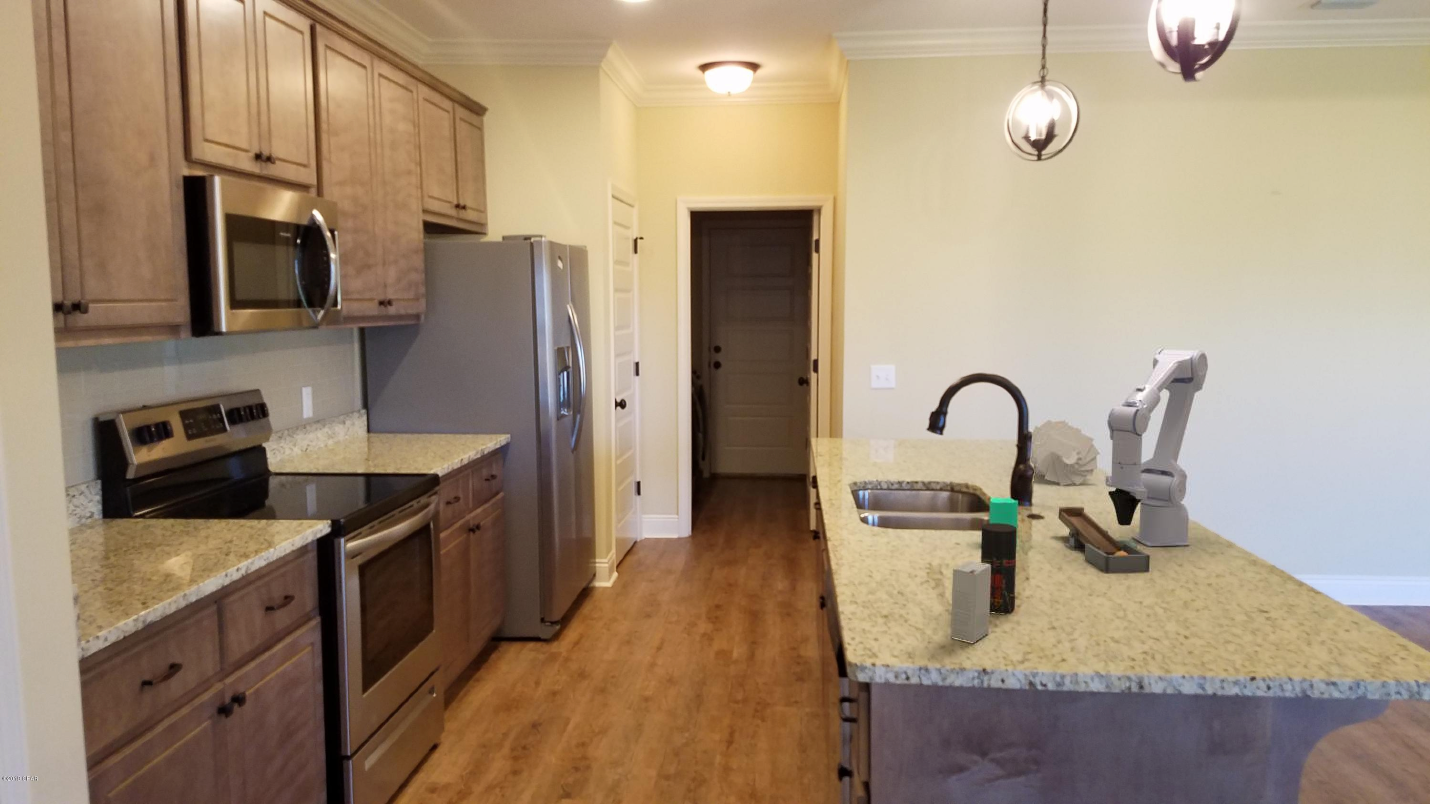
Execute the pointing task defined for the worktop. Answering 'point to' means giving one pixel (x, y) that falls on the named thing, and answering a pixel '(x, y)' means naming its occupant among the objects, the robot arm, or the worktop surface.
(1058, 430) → the spiral staircase
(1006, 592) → the deodorant
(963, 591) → the skincare box
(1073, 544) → the pivot bracket
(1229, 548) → the worktop surface
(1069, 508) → the tilt board
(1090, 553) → the tray
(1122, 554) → the ball
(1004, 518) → the candle
